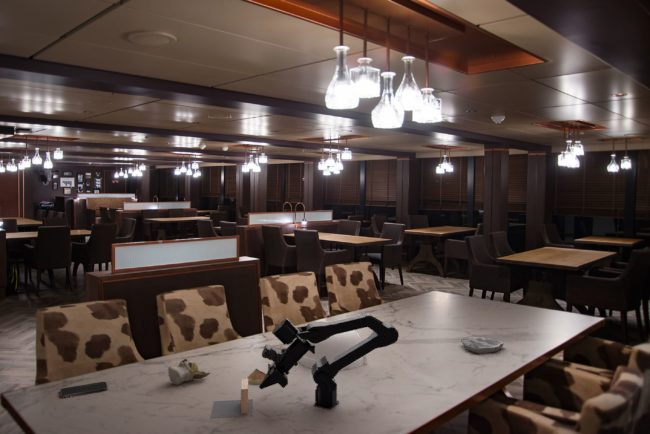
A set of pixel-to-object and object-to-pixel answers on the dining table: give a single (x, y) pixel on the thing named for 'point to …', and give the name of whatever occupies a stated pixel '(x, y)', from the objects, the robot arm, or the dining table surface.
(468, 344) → the flat grey rock
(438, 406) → the dining table surface
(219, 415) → the mat
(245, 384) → the tile
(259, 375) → the shard
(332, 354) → the dome cover
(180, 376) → the ceramic sculpture
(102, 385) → the phone
